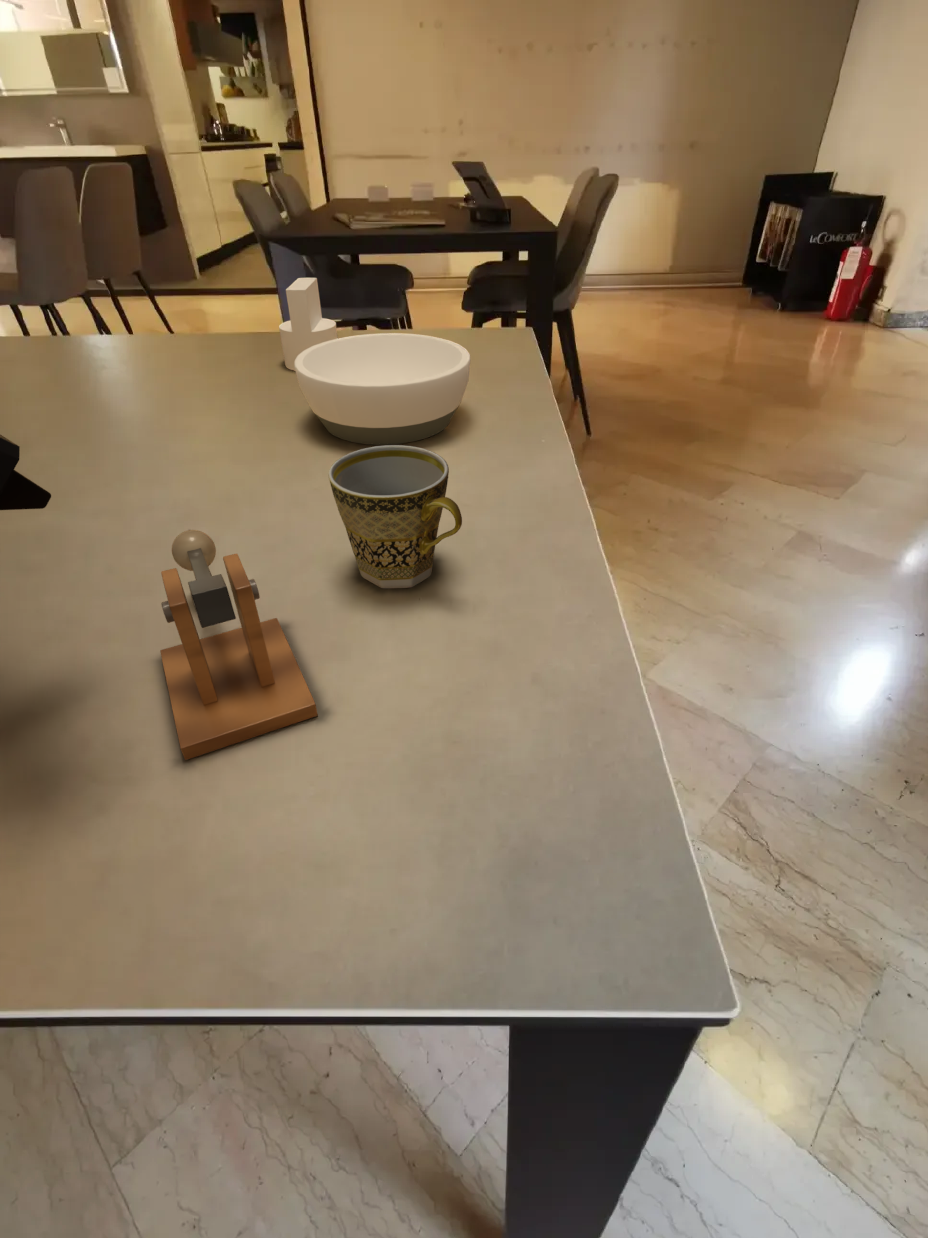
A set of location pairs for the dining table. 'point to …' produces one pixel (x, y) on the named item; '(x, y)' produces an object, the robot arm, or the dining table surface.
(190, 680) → the bracket
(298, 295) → the cylinder with rectangular tab
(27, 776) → the dining table surface
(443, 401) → the bowl
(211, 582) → the lever
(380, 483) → the ceramic cup
